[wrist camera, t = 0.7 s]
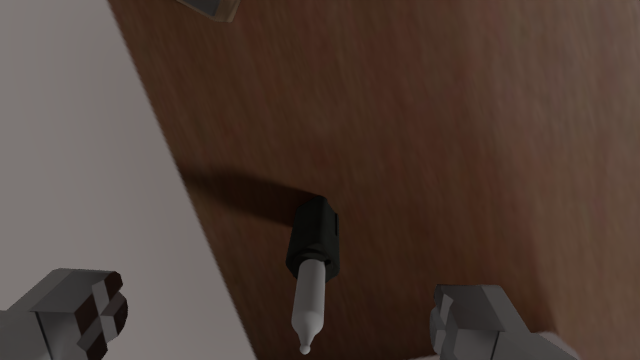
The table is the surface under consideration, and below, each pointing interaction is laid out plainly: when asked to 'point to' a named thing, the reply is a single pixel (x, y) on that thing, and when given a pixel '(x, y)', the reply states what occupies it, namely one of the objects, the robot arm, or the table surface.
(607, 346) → the table surface
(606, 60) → the table surface
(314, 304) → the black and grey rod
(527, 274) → the table surface
